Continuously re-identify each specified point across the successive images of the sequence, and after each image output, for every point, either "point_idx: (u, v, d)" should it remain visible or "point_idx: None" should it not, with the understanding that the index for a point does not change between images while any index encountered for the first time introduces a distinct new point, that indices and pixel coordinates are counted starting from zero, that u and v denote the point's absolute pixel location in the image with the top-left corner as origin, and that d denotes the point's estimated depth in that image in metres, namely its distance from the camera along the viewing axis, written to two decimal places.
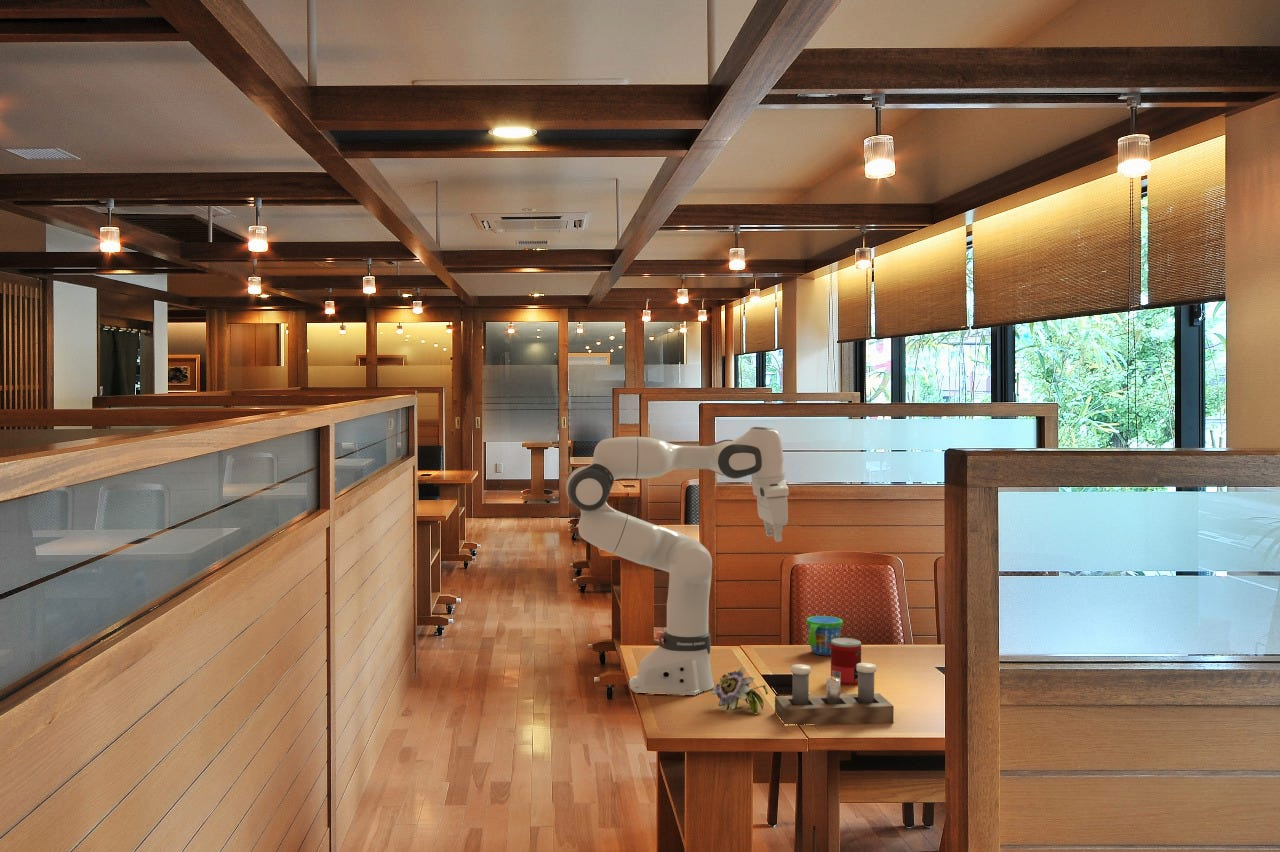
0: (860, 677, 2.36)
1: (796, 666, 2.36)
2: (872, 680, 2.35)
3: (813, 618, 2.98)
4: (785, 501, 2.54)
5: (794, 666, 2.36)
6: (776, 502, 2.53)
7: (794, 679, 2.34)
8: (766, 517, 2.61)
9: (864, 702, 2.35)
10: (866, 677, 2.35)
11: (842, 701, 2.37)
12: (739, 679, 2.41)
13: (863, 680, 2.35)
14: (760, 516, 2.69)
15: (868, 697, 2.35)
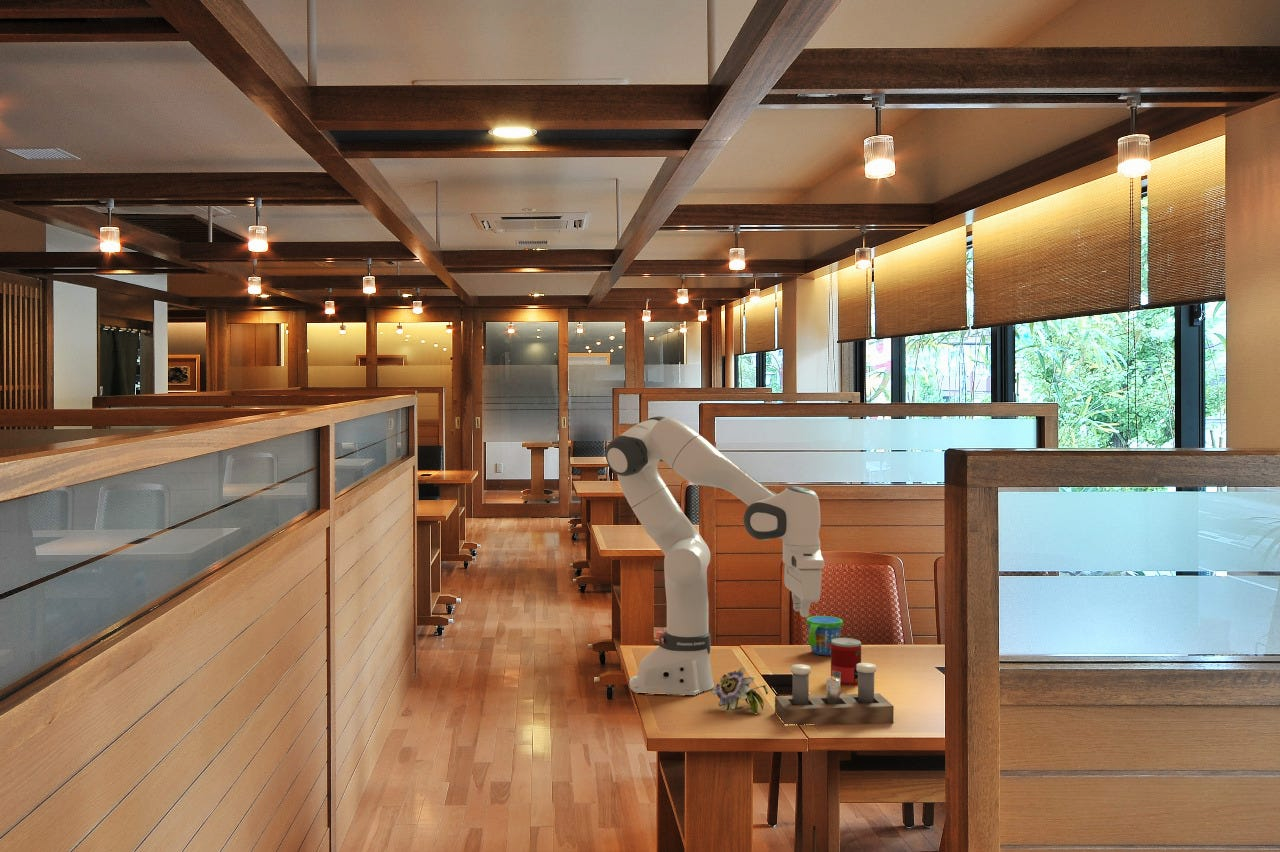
0: (860, 677, 2.36)
1: (796, 666, 2.36)
2: (872, 680, 2.35)
3: (813, 618, 2.98)
4: (819, 575, 2.25)
5: (794, 666, 2.36)
6: (809, 575, 2.25)
7: (794, 679, 2.34)
8: (795, 589, 2.33)
9: (864, 702, 2.35)
10: (866, 677, 2.35)
11: (842, 701, 2.37)
12: (739, 679, 2.41)
13: (863, 680, 2.35)
14: (787, 586, 2.41)
15: (868, 697, 2.35)
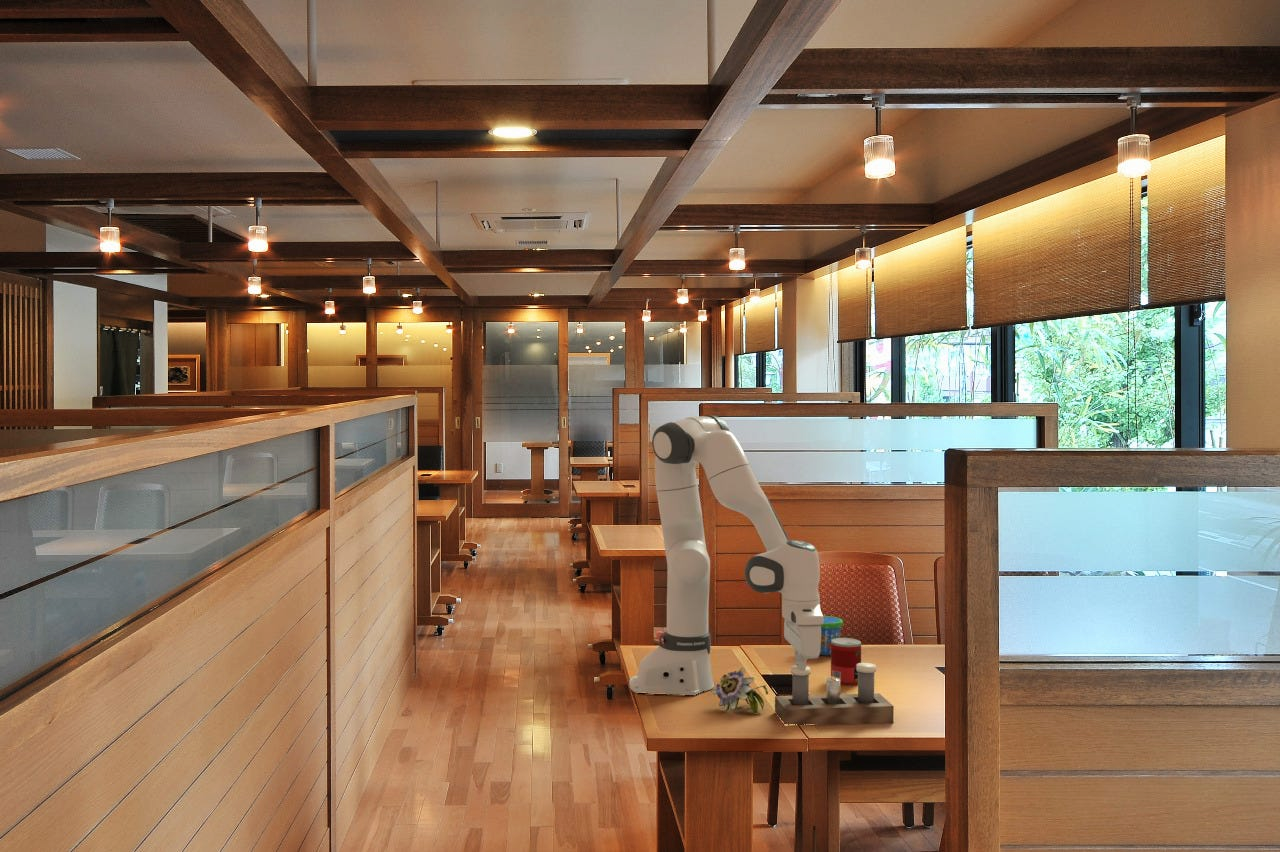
0: (860, 677, 2.36)
1: (796, 667, 2.36)
2: (872, 680, 2.35)
3: None
4: (819, 631, 2.26)
5: (794, 667, 2.36)
6: (809, 632, 2.25)
7: (794, 680, 2.34)
8: (794, 644, 2.33)
9: (864, 702, 2.35)
10: (866, 677, 2.35)
11: (842, 701, 2.37)
12: (739, 679, 2.41)
13: (863, 680, 2.35)
14: (787, 639, 2.41)
15: (868, 697, 2.35)
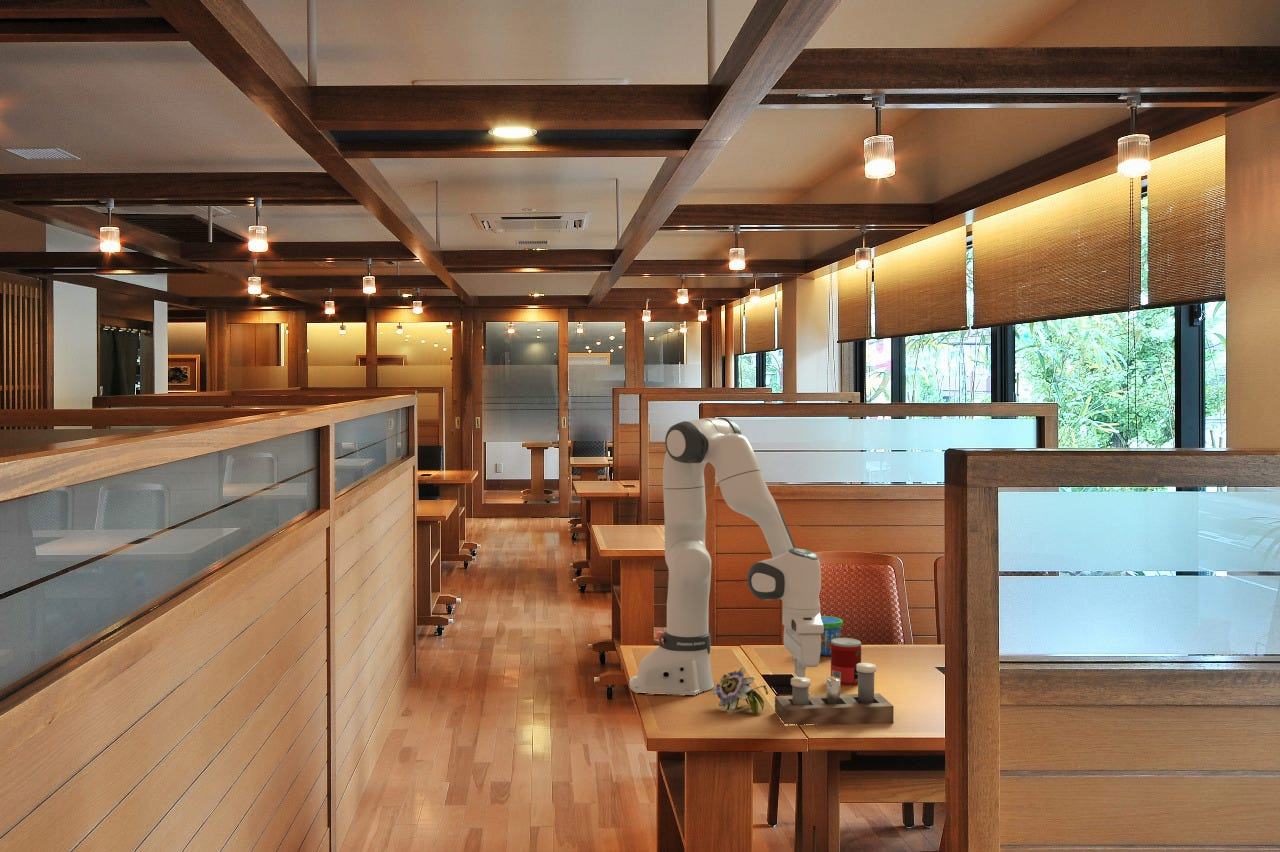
0: (860, 677, 2.36)
1: (796, 679, 2.36)
2: (872, 680, 2.35)
3: None
4: (819, 640, 2.26)
5: (794, 679, 2.36)
6: (809, 640, 2.26)
7: (794, 692, 2.34)
8: (794, 651, 2.34)
9: (864, 702, 2.35)
10: (866, 677, 2.35)
11: (842, 701, 2.37)
12: (739, 679, 2.41)
13: (863, 680, 2.35)
14: (786, 646, 2.41)
15: (868, 697, 2.35)
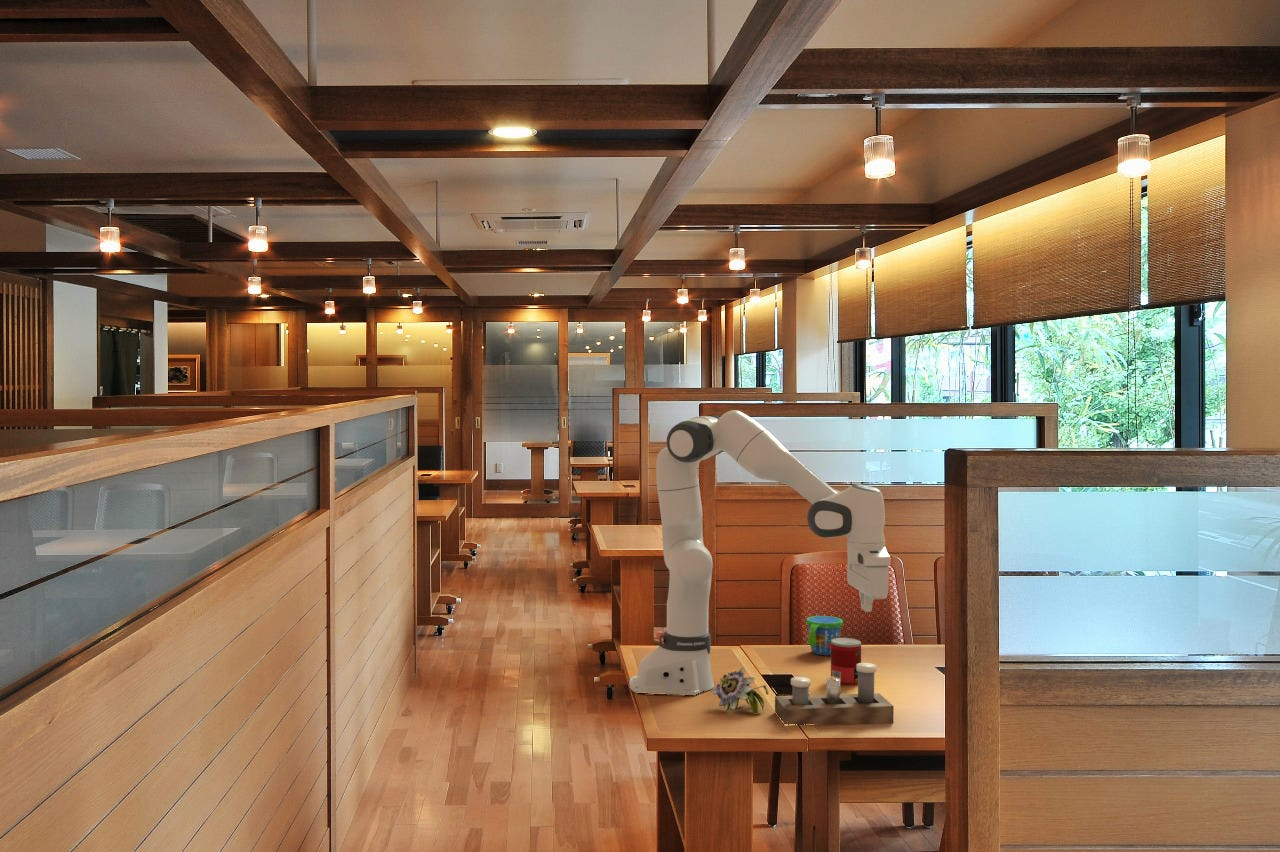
0: (860, 677, 2.36)
1: (796, 679, 2.36)
2: (872, 680, 2.35)
3: (813, 618, 2.98)
4: (886, 572, 2.27)
5: (794, 679, 2.36)
6: (877, 572, 2.26)
7: (794, 692, 2.34)
8: (860, 586, 2.34)
9: (864, 702, 2.35)
10: (866, 677, 2.35)
11: (842, 701, 2.37)
12: (740, 679, 2.41)
13: (863, 680, 2.35)
14: (851, 583, 2.42)
15: (868, 697, 2.35)
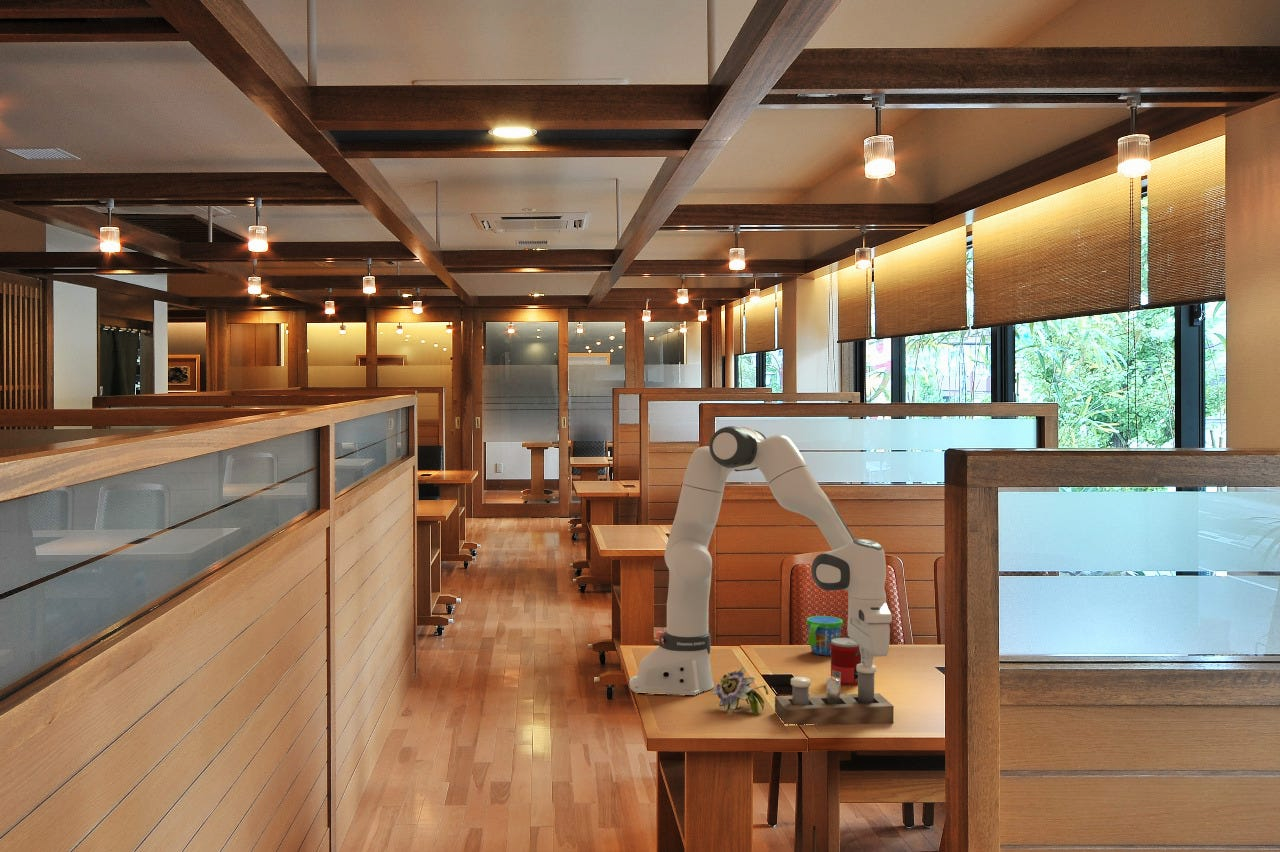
0: (860, 678, 2.36)
1: (796, 679, 2.36)
2: (872, 681, 2.35)
3: (813, 618, 2.98)
4: (887, 629, 2.27)
5: (794, 679, 2.36)
6: (878, 630, 2.27)
7: (794, 692, 2.34)
8: (861, 641, 2.35)
9: (864, 703, 2.35)
10: (866, 678, 2.35)
11: (842, 701, 2.37)
12: (740, 679, 2.41)
13: (863, 680, 2.35)
14: (851, 637, 2.43)
15: (868, 697, 2.35)
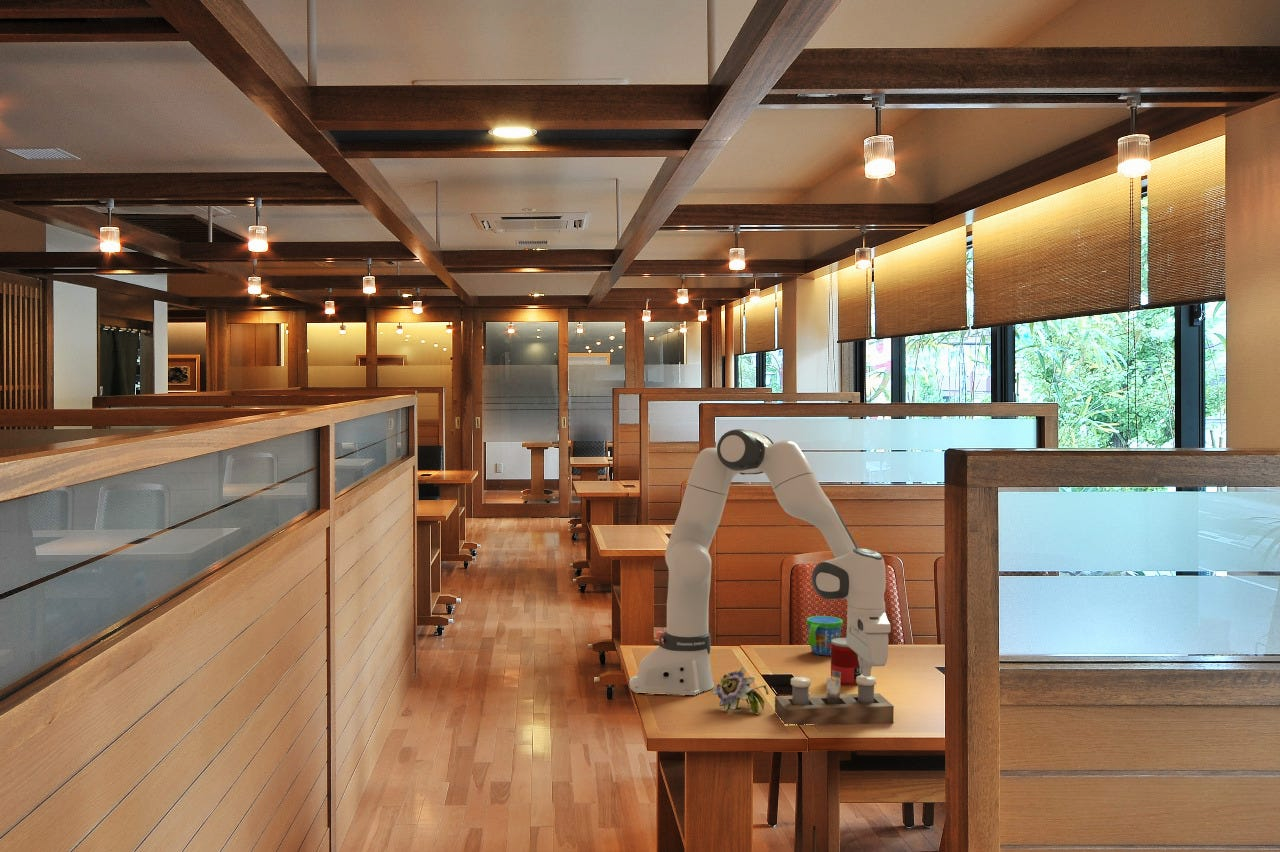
0: (860, 690, 2.36)
1: (796, 679, 2.36)
2: (872, 693, 2.35)
3: (813, 618, 2.98)
4: (886, 639, 2.27)
5: (794, 679, 2.36)
6: (876, 640, 2.27)
7: (794, 692, 2.34)
8: (859, 651, 2.35)
9: None
10: (866, 690, 2.35)
11: (842, 701, 2.37)
12: (740, 679, 2.41)
13: (863, 692, 2.35)
14: (850, 646, 2.43)
15: None
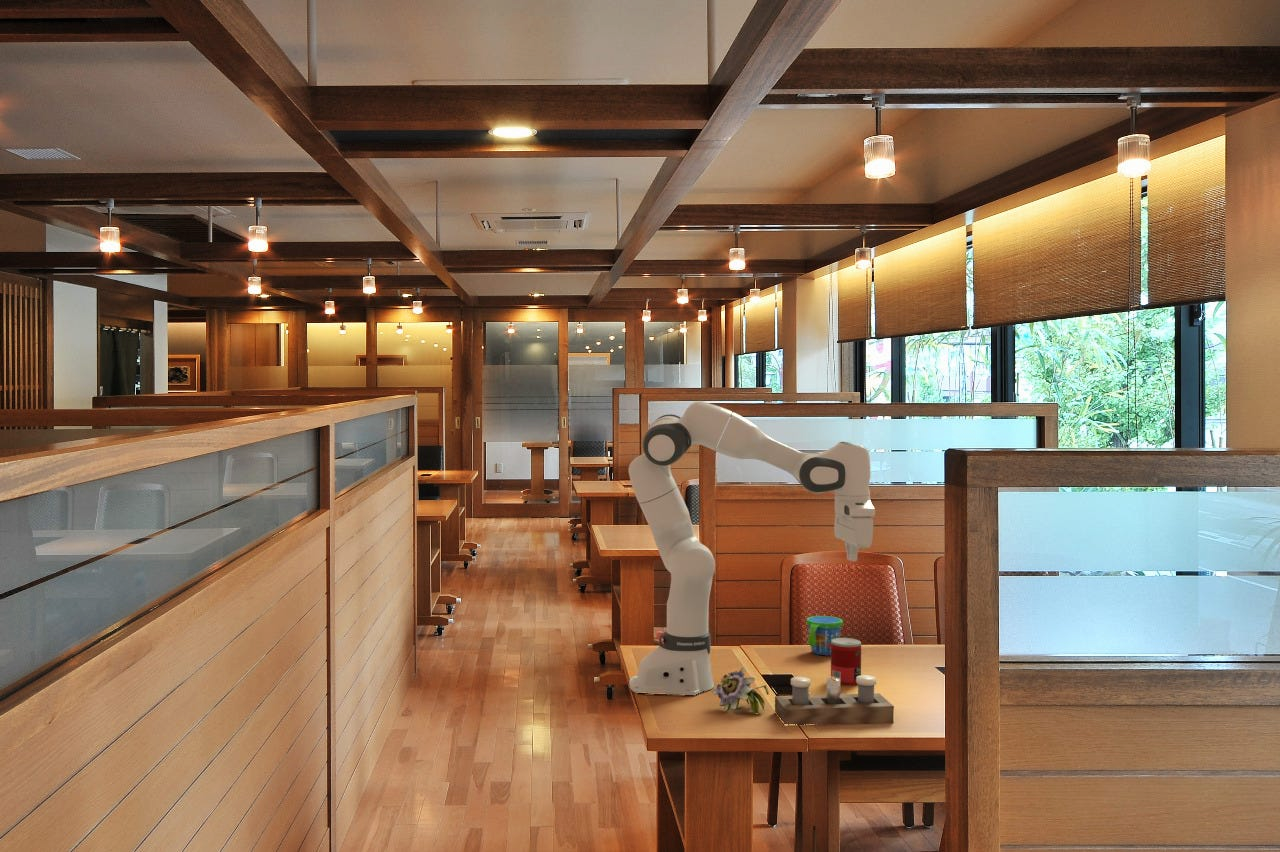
0: (860, 690, 2.36)
1: (796, 679, 2.36)
2: (872, 693, 2.35)
3: (813, 618, 2.98)
4: (871, 522, 2.42)
5: (794, 679, 2.36)
6: (862, 522, 2.41)
7: (794, 692, 2.34)
8: (846, 537, 2.49)
9: None
10: (866, 690, 2.35)
11: (842, 701, 2.37)
12: (740, 679, 2.41)
13: (863, 692, 2.35)
14: (837, 535, 2.57)
15: None
